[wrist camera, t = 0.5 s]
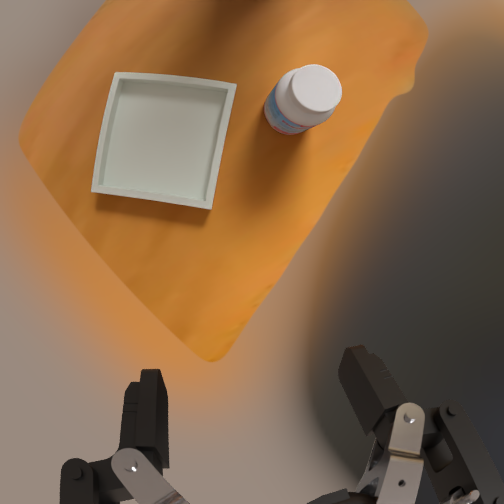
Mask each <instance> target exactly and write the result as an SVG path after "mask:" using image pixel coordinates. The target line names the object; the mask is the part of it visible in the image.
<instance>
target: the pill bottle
mask: <svg viewBox="0 0 504 504" xmlns="http://www.w3.org/2000/svg"><path fill="white" fill-rule="evenodd" d="M341 96H342V88H341V84H340V82H339V80H338V78H337V77H336V75H335V74H334V73H333V72H332V71H331V70H329V69H328V68H326V67H323V66H320V65H306V66H303V67H301V68H298V69H294V70H291V71H289V72H288V73H286V74H285V75H284V76H283V77H282V78H281V79H280V80H279V82H278V83H277V84H276V86H275V87H274V88H273V90H272V91H271V93H270V94H269V95H268V97H267V99H266V101H265V104H264V113H265V117H266V119H267V121H268V123H269V124H270V125H271V126H272V128H274V129H275V130H276V131H278V132H280V133H283V134H288V135H293V134H298V133H301V132H303V131H305V130H307V129H310V128H312V127H314V126H316V125H318V124H321V123H322V122H324V121H326V120H327V119H328V118H329V117H330V116H331V115H332V113H333V111H334V109H335V107H336V106H337V104H338V103H339V101H340V99H341Z"/></svg>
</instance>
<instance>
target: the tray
mask: <svg viewBox="0 0 504 504" xmlns="http://www.w3.org/2000/svg"><path fill="white" fill-rule="evenodd" d="M236 86H237V84H234V83H228V82H222V81H216V80H209V79H202V78H194V77H186V76H176V75H165V74H151V73H130V72H115V74H114V78H113V81H112V85H111V88H110V92H109V96H108V100H107V104H106V108H105V113H104V117H103V122H102V126H101V131H100V136H99V142H98V147H97V153H96V159H95V166H94V173H93V180H92V188H91V192H96V193H104V194H112V195H119V196H126V197H133V198H140V199H147V200H154V201H161V202H167V203H174V204H180V205H187V206H193V207H199V208H205V209H212V204H213V199H214V193H215V188H216V182H217V177H218V172H219V167H220V162H221V156H222V151H223V147H224V142H225V137H226V132H227V127H228V123H229V118H230V113H231V109H232V104H233V100H234V95H235V91H236Z"/></svg>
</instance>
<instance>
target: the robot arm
mask: <svg viewBox="0 0 504 504" xmlns="http://www.w3.org/2000/svg"><path fill="white" fill-rule="evenodd" d="M338 376H339V380H340V383H341V384H342V387H343V389H344V391H345V393H346V395H347V397H348V399H349V401H350V403H351V405H352V407H353V409H354V411H355V414H356V416H357V418H358V420H359V422H360V424H361V426H362V428H363V431H364V433H365V435H366V436H369V435H372V434H375V436H376V439H375V442H374V445H373V449H372V452H371V455H370V458H369V462H368V465H367V468H366V471H365V473H364V475H363V477H362V479H361V480H360V482H359V484H358V486H357V489H356V491H355V492H347V489H342V490H339V491H336V492H333V493H329V494H327V495H323V496H321V497H319V498H317V499H315V500H313V501H311V502H309V503H307V504H415V500H416V496H417V492H418V488H419V483H420V479H421V474H422V469H423V464H424V466H425V469H426V471H427V473H428V476H429V478H430V480H431V482H432V485H433V487H434V489H435V492H436V494H437V497H438V499H439V502H440V503H439V504H504V484H503V482H502V479H501V477H500V475H499V473H498V471H497V469H496V467H495V465H494V463H493V461H492V459H491V458H490V455H489V453H488V451H487V450H486V448H485V446H484V444H483V442H482V440H481V439H480V437H479V435H478V433H477V431H476V429H475V428H474V426H473V424H472V423H471V421H470V419H469V417H468V416H467V414H466V412H465V411H464V409H463V407H462V406H461V405H460V404H459V403H458V402H457V401H454V400H446V401H444V402H443V403H442V404H441V405H440V406H439V407H437V408H428V409H427V408H426V409H422V408H421V407H419V406H418V405H416V404H414V403H409V402H408V401H407V399H406V398H405V396H404V394H403V393H402V391H401V389H400V388H399V386H398V385H397V383H396V381H395V380H394V378H393V377H392V375H391V373H390V372H389V370H387V367H386V365H385V364H384V362H383V361H382V360H381V359H380V358H379V357H378V356H376V355H375V354H374V353H373V354H369V353H368V351H367V350H366V348H365V346H363V345H358V346H353V347H348V348H346V349H345V351H344V354H343V357H342V360H341V363H340V366H339V369H338ZM444 439H445V440H444ZM445 441H446V442H445ZM446 443H447V444H446ZM168 445H169V442H168V395H167V390H166V387H165V384H164V381H163V377H162V375H161V371H160V369H143V370H142V371H141V378H140V382H131V383H130V385H129V386H128V388H127V389H126V391H125V396H124V405H123V414H122V422H121V433H120V443H119V448H118V450H117V451H116V453H115V454H114V455H113V456H111V457H110V458H108V459H105V460H100V461H95V462H90V463H87V462H86V461H84V460H82V459H79V458H73V459H70V460H68V461H67V462H65V463H64V465H63V466H62V469H61V480H60V504H120V501H125V500H130V499H135V500H136V501H137V502H138V503H139V504H190V503H189V502H188V501H186V500H185V499H184V498H183V497H182V496H181V495H180V494H179V493H178V492H177V491H176V490H175V489H174V488H173V487H172V486H171V485H170V484H169V483H168V482H167V481H166V480H165V479H164V478H163V468H169V447H168ZM447 445H448V446H447ZM448 447H449V448H448ZM449 449H450V450H449ZM450 451H451V452H450ZM451 453H452V454H451Z"/></svg>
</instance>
